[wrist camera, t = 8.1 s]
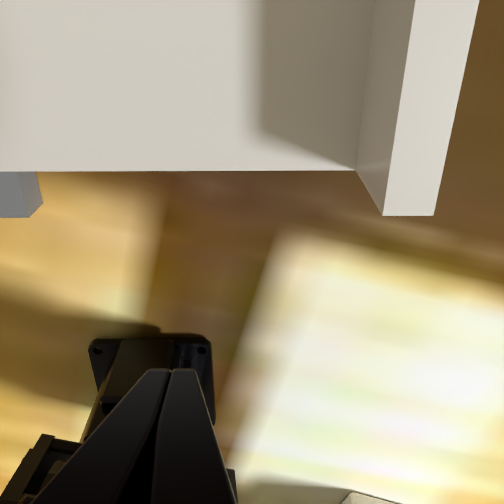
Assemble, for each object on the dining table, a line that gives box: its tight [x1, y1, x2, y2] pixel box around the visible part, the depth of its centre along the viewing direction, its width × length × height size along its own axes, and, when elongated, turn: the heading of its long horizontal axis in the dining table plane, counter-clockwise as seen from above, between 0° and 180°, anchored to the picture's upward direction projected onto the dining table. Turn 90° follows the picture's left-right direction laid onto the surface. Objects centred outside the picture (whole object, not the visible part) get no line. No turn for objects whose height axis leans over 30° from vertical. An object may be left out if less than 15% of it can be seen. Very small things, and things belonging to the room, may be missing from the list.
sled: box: [0, 0, 479, 216], centre depth 14 cm, size 7×24×5 cm, turn 90°
